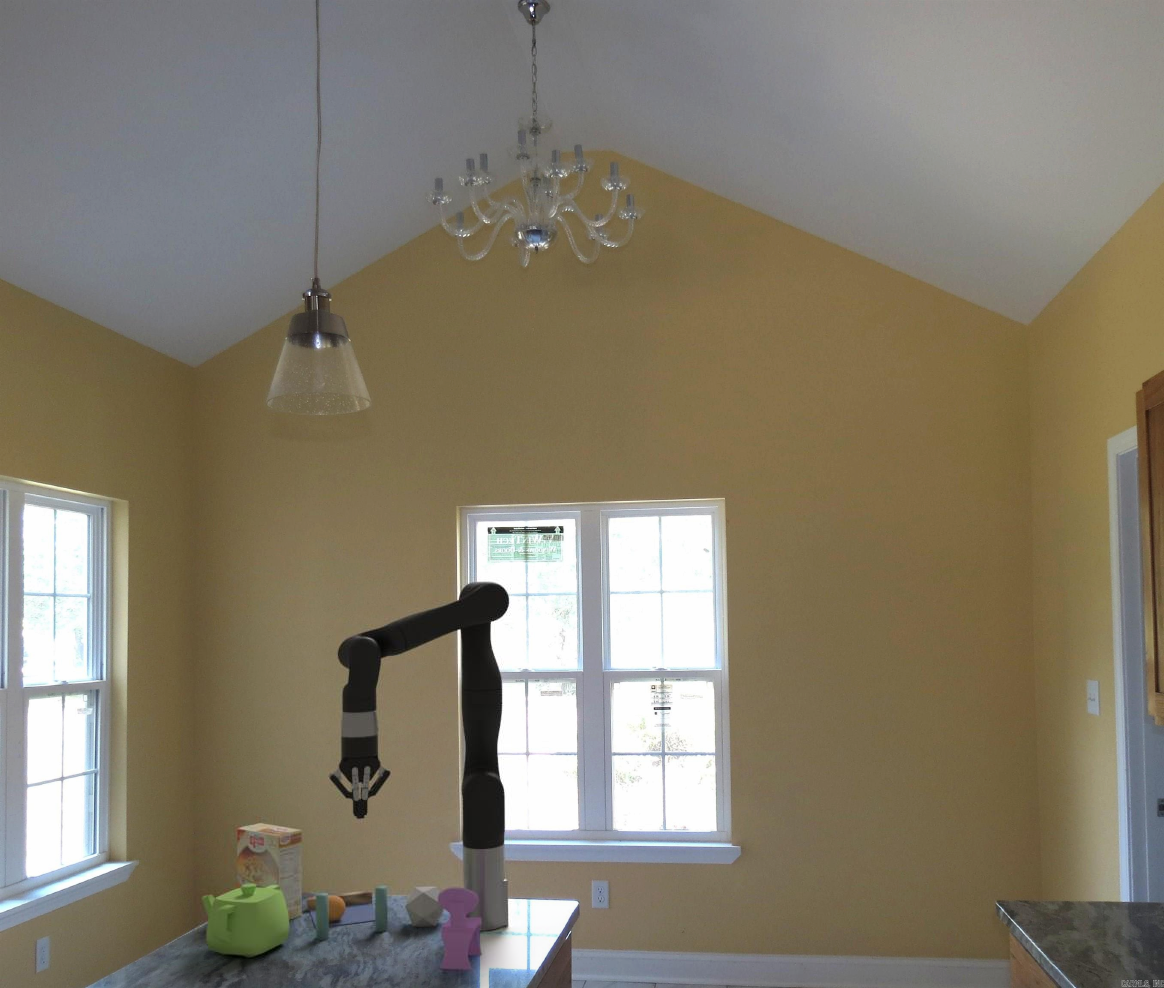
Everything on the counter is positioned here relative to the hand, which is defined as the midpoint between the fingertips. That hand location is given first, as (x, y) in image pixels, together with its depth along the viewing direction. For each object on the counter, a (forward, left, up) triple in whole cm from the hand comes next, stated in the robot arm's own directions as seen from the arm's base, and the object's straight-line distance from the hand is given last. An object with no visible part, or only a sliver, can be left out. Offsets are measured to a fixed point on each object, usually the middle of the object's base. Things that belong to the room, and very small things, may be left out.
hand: (360, 818), depth 213 cm
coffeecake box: (+16, -35, -27) cm, 47 cm away
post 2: (-6, -13, -27) cm, 31 cm away
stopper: (0, -35, -27) cm, 44 cm away
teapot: (+23, -14, -27) cm, 38 cm away
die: (-16, -13, -27) cm, 34 cm away
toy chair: (-18, +13, -27) cm, 35 cm away
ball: (+3, -24, -24) cm, 34 cm away
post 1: (+6, -13, -27) cm, 31 cm away
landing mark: (0, -27, -27) cm, 38 cm away
